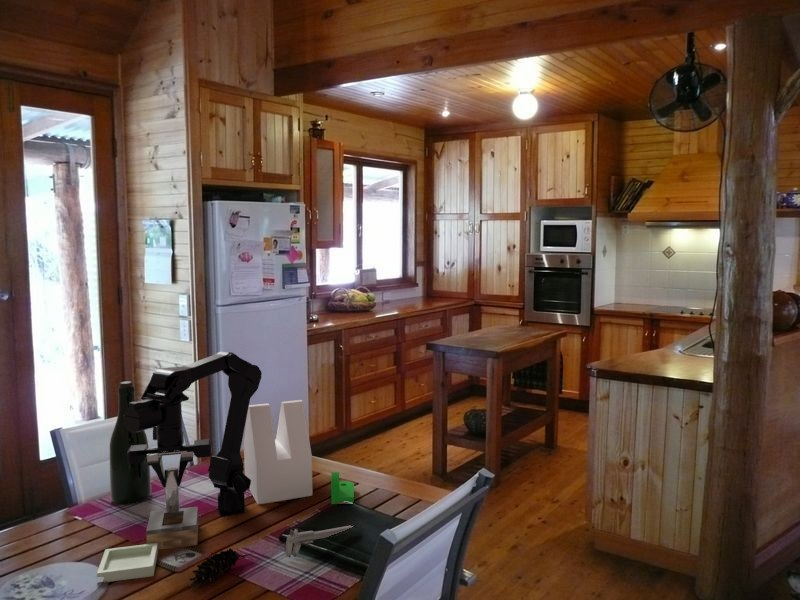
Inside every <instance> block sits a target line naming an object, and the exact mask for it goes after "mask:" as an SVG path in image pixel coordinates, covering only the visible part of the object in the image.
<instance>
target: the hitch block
mask: <svg viewBox="0 0 800 600" xmlns="http://www.w3.org/2000/svg"><path fill="white" fill-rule="evenodd" d="M147 523H148V524H147V526H146V530H145V532H146V533H145V535H146V536H145V537H146V544H152V543H158V551H159V550H166V549H175V548H184V547H191V546H197V545H198V539H199V538H198V537H199V507H198V505H197V506H191V507H190V506H189V507H181V508H180V507H179V511H177V512H174V513H168V512H166V509H162V510H155V511H154V510H152V511H150V515H149V518H148V522H147Z"/></svg>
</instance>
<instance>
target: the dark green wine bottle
mask: <svg viewBox="0 0 800 600" xmlns="http://www.w3.org/2000/svg"><path fill="white" fill-rule="evenodd" d="M117 394H118V395H117V396H118V411H117V417H116V422H115V424H114V428H113V430H112V433H111V436H110V441H109V455H108V456H109V485H110V486H109V489H110V491H109V493H110V500H111V502H112V503H113V504H116V505H122V506H124V505H125V506H127V505H134V504H138V503H141V502H144V501H146V500H148V499H149V498H150V497H151V495H152V481H151V478H152V476H151V466H147V457H145V460H144V461H143V462H142V463H136V464H127V452H128V450H129V448H130V447H131V446H133V445H145V444H147V449H150V448H149V440H148V436H147V433H146V430H143V431H140V432H136V433H131V432H129V431H128V430H127V429H126V427H125V425H124V421H123V416H124V414H125V411H126V410H127V409H128V408H129V403H130V402H136V388H135V386H134V384H133V381H131V380H128V381H127V380H126V381H125V380H124V381H121V382H119V386H118V388H117Z"/></svg>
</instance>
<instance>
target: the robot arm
mask: <svg viewBox="0 0 800 600" xmlns="http://www.w3.org/2000/svg"><path fill="white" fill-rule="evenodd" d="M219 372H222V373H223V374H225V375H226V376H227V377H228V378H227V381H228V382H227V386H228V388H229V392H230V395H231V397H230V401H229V407H228V412H227V417H226V423H225V427H224V433H223V438H222V442H221V446H220V447H221V448H220V450H219V451H218V453H217V454H216V455H212V441H211V440H210V439H209V438H207V439H195V440H194V444H188V445H187V444H186V445H184V443H185V440H184V431H183V413H182V410H183V409H182V403H183V402H186V401H189V399H190V397H189V396H188V395H186V394H185V393H184V392H185V391H187V390H188V389H189V388H190V387H191V385H192V384H193V383H194V382H197V381H199V380H202V379H204V378H208V377H209V376H212V375H214V374H218V373H219ZM149 380H150V381H149V382H148V384H147V386H146V388H145V390H144V392H143V393H142V395H141V398H140V399H141V400H138V401H135V402H130V403H129V408H128V409H127V410H126V411H125V414H124V416H123V421H124V425H125V427H126V429H127V430H128V431H129V432H131V433H136V432H140V431H143V430H144V431H146V430H149V429H152V440H153V441H157V442H156V445H157V447H152V448H151V447H150V448H149V449H147V444H145V445H133V446H131V447H130V448H129V450H128V452H127V464H136V463H142V462H143V461H144V460H145V457H147V466H150V467H151V468H152V469H153V470H154V471H155V473H156V475H157V477H158V480H159V482H160V484H161V485H162V488H165V471H164V470H165V469H164V464H163V456H174V455H180V458H179V467H178V487H179V486H181V484H182V483H181V482H182V480H183V477H184V473H185V471H186V468H187V466H188V464H189V463H192V462H193V461H194V456H195V457H196V458H197V459H199V458H210V460H209V461H210V462H209V466H208V469H207V472H208V478H209V479H210V481H211V483H212V484H213V487H214V488H215V489H219V492H218V493H217V512H219V517H225V516H234V515H243V514H246V503H245V502H246V501H245V497H246V496H245V493H246V492H247V490H250V489H249V488H250V484H251V480H250V479H249V478H248V477H247V476H246V475H245V473H244V461H243V457H242V455H241V448H242V444H243V440H244V434H245V428H246V419H247V413H248V407H249V405H250V401H251V398H252V396H254V395H255V393H256V392H257V390H258V389H259V386H260V382H261V380H262V370H261V368H260V367H259V366H258V365H256V364H252V363H251V362H249V361H248V360H245V359H243V358H242V357H239V356H238V355H237V354H235V353H234V352H231V351H222V350H221V351H218V352H216V353H215V354H212V355H210V356H207V357H204V358H202V359H199V360H197V361H193V362H191V363H188V364H185V365H183V366H172V367H164V368H158V369H156V370H154V372H152V375H151V377H150V379H149Z"/></svg>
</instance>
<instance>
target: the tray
mask: <svg viewBox="0 0 800 600" xmlns="http://www.w3.org/2000/svg"><path fill="white" fill-rule="evenodd" d="M158 554H159V550H158V543H152V544H147V543H144V544H139V545H130V546H121V547H114V548H105V550H104V552H103V555H102V558H101V561H100V563H99V566H98V569H97V571H96V578H97V577H104V579H105V580H106V581H107V582H106V583H108V582H110V583H111V582H116V581H125V580H131V579H133V580H134V579H139V578H140V579H141V578H147V577H148V578H149V577H154V574H155V571H156V564H157V559H158Z"/></svg>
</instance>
